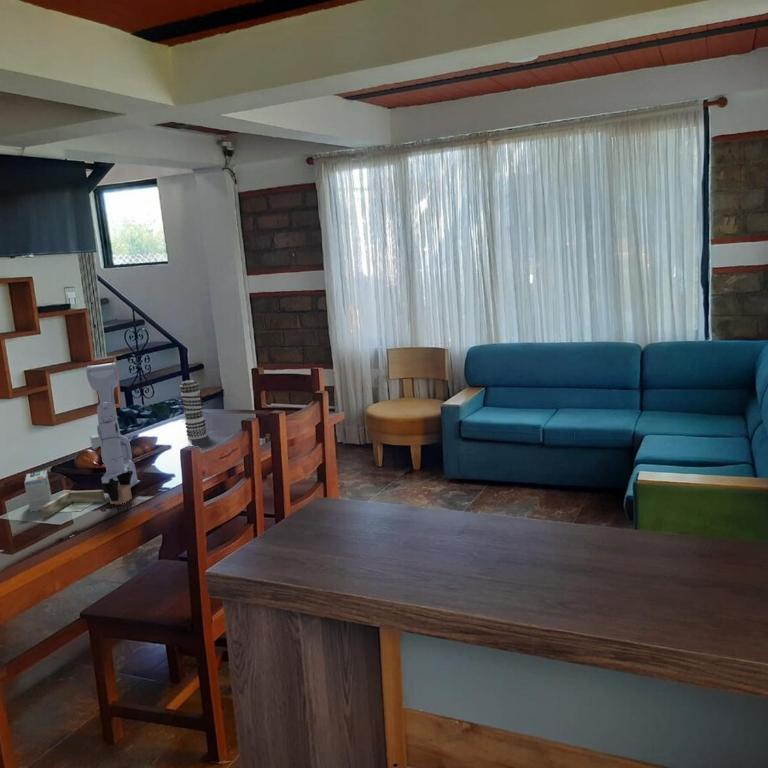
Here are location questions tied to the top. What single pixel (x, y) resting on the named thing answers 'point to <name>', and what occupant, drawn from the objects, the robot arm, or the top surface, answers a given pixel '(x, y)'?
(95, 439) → the skincare box
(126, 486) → the cube
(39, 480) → the light bulb box
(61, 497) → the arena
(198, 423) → the decorative candle
